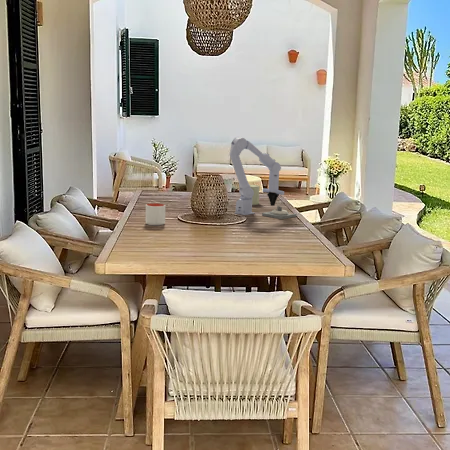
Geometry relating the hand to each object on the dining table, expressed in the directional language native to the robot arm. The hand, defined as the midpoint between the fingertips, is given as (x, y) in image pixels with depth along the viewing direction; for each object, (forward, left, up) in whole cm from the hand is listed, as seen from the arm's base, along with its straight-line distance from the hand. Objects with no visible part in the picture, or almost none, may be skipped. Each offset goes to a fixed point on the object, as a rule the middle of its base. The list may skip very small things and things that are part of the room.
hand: (272, 205), depth 356 cm
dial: (-3, -7, -3) cm, 8 cm away
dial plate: (-4, -8, -5) cm, 10 cm away
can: (+18, +31, -5) cm, 36 cm away
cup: (-77, +16, -5) cm, 78 cm away
